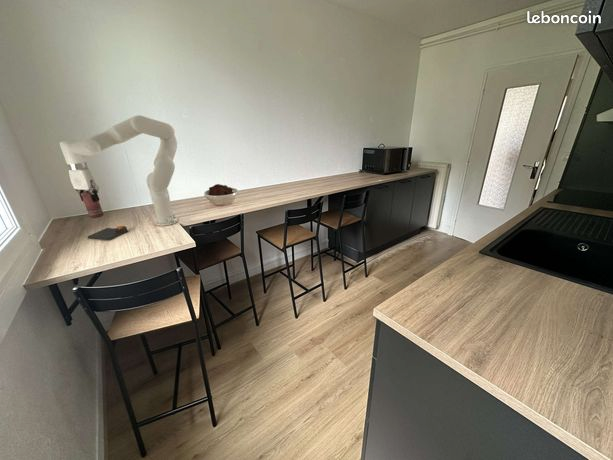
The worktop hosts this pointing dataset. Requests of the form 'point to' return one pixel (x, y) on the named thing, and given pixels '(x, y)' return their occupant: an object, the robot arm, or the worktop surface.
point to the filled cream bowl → (221, 194)
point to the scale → (108, 233)
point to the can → (91, 205)
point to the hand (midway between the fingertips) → (90, 200)
